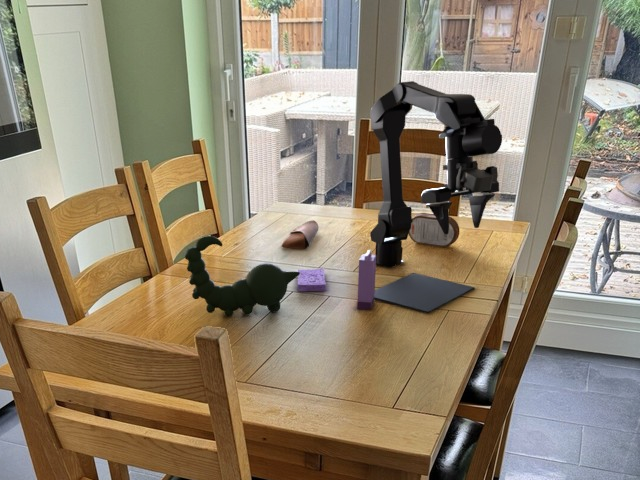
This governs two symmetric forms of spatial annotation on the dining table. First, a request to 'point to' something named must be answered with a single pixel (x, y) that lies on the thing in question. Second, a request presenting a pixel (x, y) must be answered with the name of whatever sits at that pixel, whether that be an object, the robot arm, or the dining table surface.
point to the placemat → (421, 292)
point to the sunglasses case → (301, 236)
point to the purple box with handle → (366, 281)
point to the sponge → (311, 280)
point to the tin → (432, 231)
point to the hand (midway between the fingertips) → (461, 231)
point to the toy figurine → (237, 284)
